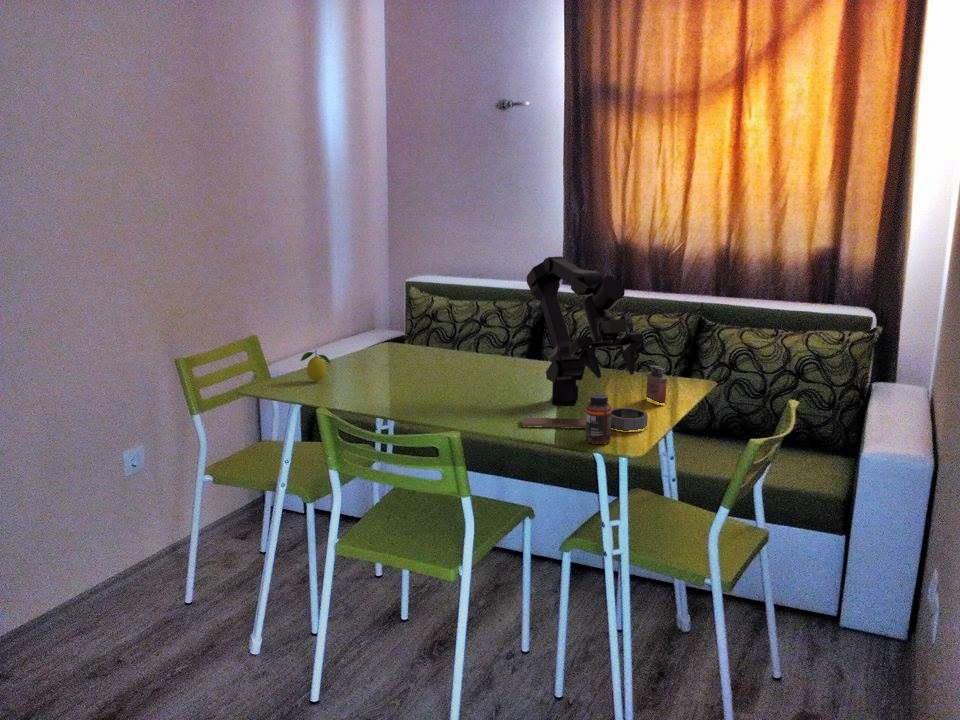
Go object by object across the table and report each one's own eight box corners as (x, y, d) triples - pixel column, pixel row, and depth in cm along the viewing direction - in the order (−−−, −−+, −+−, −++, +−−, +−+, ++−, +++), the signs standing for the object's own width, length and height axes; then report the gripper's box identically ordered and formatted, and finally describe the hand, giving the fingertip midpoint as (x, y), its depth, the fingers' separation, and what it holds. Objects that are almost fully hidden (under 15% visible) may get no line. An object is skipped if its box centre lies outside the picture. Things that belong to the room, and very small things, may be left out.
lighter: (642, 398, 254) (644, 363, 252) (653, 397, 255) (655, 362, 253) (657, 406, 247) (660, 370, 244) (668, 405, 248) (671, 369, 246)
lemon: (301, 383, 266) (299, 349, 264) (311, 378, 271) (309, 345, 269) (321, 385, 264) (320, 351, 262) (331, 380, 269) (330, 347, 267)
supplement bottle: (609, 437, 221) (611, 392, 218) (611, 446, 215) (613, 399, 212) (584, 437, 221) (585, 391, 218) (586, 445, 215) (587, 398, 213)
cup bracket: (521, 430, 226) (522, 416, 225) (522, 418, 235) (522, 405, 234) (648, 433, 224) (649, 419, 224) (644, 421, 234) (644, 408, 233)
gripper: (579, 306, 219) (597, 366, 214) (646, 301, 226) (665, 359, 221) (560, 326, 228) (577, 384, 223) (625, 320, 236) (642, 377, 230)
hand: (616, 376), depth 224 cm, fingers open, 9 cm apart
